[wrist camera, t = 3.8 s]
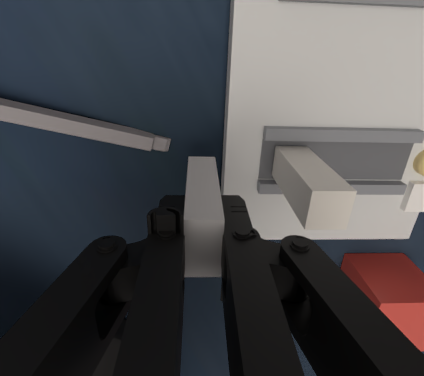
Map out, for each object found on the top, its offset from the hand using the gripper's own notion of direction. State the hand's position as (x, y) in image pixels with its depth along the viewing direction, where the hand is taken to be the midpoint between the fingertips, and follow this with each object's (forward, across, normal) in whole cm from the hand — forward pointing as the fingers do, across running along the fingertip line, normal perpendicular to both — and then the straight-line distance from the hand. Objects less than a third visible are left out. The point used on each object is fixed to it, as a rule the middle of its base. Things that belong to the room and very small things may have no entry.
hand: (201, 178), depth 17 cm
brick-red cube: (+6, +17, -13) cm, 22 cm away
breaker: (+4, +6, 0) cm, 7 cm away
